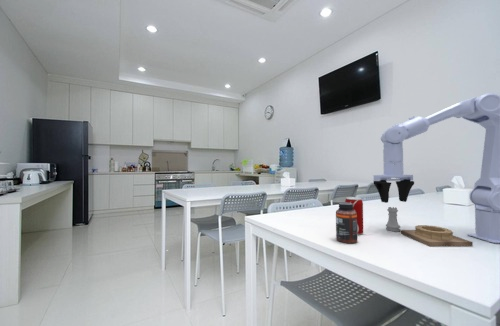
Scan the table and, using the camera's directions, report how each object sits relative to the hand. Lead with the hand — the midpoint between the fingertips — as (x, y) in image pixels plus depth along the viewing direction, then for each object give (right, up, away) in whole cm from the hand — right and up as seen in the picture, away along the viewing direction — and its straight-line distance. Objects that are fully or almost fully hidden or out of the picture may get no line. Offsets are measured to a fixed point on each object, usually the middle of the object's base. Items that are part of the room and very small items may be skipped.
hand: (393, 201), depth 76 cm
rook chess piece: (+1, -11, +2) cm, 11 cm away
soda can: (-14, -11, -1) cm, 18 cm away
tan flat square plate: (+7, -10, -8) cm, 15 cm away
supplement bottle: (-20, -10, -9) cm, 24 cm away
